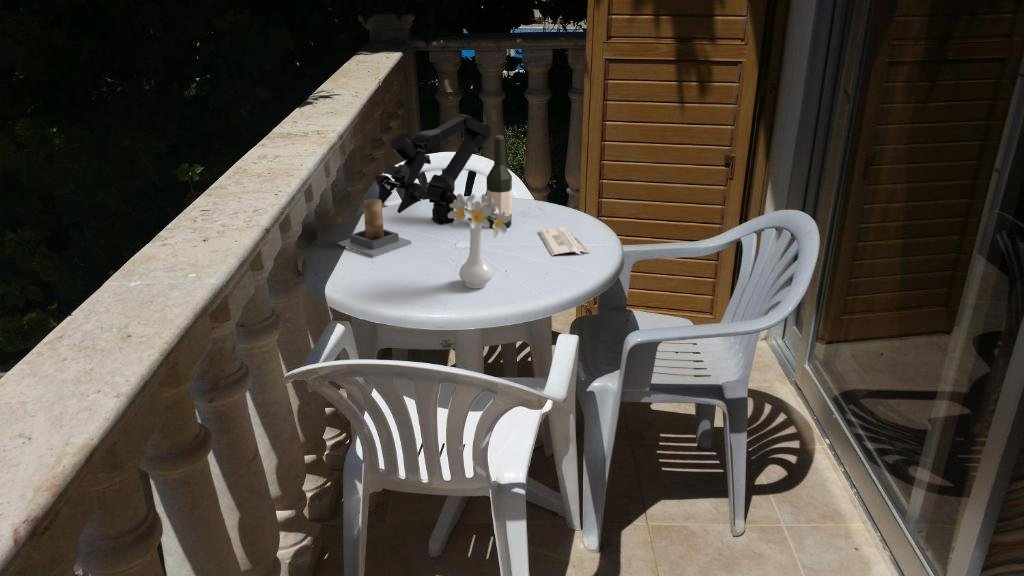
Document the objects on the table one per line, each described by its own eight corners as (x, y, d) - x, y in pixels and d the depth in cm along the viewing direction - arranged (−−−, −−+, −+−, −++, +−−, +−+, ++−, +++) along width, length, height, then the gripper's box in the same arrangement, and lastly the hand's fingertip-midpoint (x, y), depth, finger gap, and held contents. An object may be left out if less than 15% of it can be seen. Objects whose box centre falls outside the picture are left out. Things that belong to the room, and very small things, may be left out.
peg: (383, 238, 256) (381, 198, 251) (384, 244, 251) (382, 203, 246) (365, 239, 255) (363, 199, 250) (366, 245, 250) (363, 204, 245)
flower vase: (496, 299, 215) (496, 209, 205) (437, 286, 223) (435, 198, 213) (519, 283, 226) (520, 196, 216) (462, 270, 234) (461, 186, 224)
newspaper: (591, 256, 247) (591, 248, 246) (552, 262, 246) (551, 254, 245) (574, 231, 268) (574, 224, 267) (538, 236, 267) (537, 229, 266)
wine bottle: (496, 219, 277) (496, 132, 266) (516, 224, 273) (517, 135, 261) (481, 225, 271) (481, 136, 259) (501, 230, 267) (502, 140, 255)
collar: (376, 232, 263) (376, 222, 262) (411, 243, 254) (410, 233, 253) (337, 245, 252) (337, 235, 251) (372, 257, 243) (372, 246, 241)
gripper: (377, 148, 256) (352, 190, 253) (419, 158, 245) (394, 202, 242) (396, 168, 265) (373, 208, 261) (438, 178, 254) (414, 220, 251)
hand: (387, 209), depth 254 cm, fingers open, 9 cm apart
